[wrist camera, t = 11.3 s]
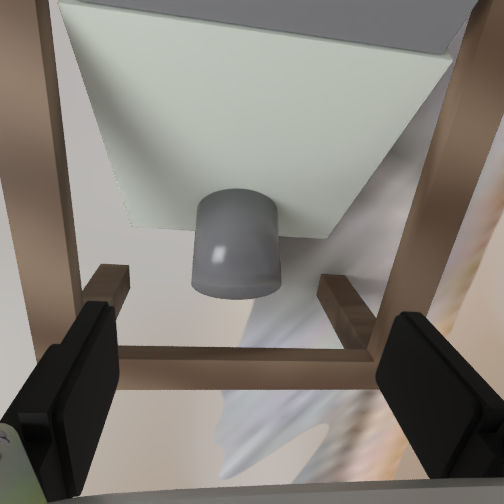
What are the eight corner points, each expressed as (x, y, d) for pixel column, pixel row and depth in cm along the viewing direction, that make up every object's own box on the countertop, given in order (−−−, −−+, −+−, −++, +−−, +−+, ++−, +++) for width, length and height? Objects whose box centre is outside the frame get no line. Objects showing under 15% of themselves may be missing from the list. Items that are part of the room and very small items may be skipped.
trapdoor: (24, -174, 9) (5, -153, 8) (511, -72, 10) (530, -48, 10) (134, 208, 24) (131, 226, 23) (324, 221, 26) (326, 239, 25)
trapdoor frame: (69, -105, 17) (-104, -348, 8) (422, -38, 19) (607, -160, 10) (103, 287, 26) (42, 389, 17) (339, 296, 28) (398, 389, 19)
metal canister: (196, 184, 19) (190, 264, 17) (285, 192, 20) (291, 269, 18) (196, 230, 24) (192, 298, 21) (269, 235, 24) (271, 301, 22)
